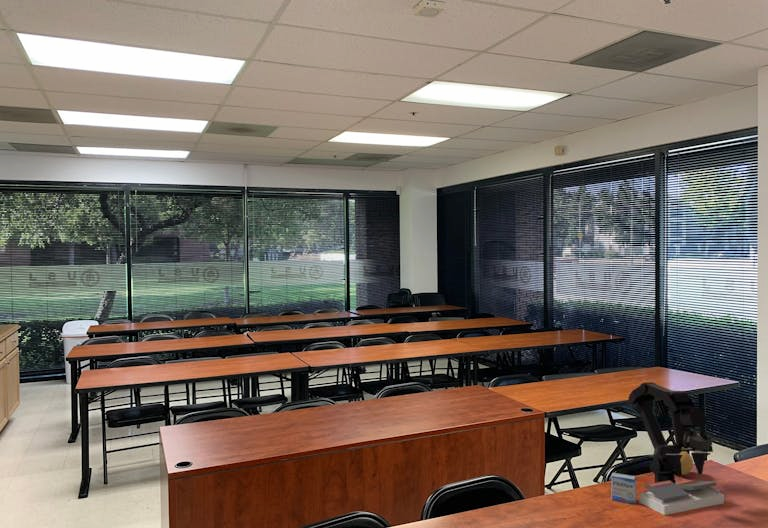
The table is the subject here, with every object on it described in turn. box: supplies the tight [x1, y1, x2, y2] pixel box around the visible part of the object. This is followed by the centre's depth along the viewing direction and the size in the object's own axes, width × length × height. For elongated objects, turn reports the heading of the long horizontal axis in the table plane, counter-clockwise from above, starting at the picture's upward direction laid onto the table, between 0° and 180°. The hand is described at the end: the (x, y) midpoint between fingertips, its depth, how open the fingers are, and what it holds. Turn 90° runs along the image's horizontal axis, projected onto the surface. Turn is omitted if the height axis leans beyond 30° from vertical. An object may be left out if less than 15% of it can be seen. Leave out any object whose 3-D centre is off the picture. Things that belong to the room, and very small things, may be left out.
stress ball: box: [679, 451, 694, 476], centre depth 222 cm, size 10×10×10 cm
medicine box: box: [610, 472, 637, 505], centre depth 197 cm, size 8×4×9 cm, turn 62°
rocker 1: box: [644, 480, 689, 502], centre depth 192 cm, size 8×11×2 cm
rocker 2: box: [675, 480, 718, 490], centre depth 197 cm, size 8×11×2 cm
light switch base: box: [638, 486, 725, 516], centre depth 195 cm, size 11×27×4 cm, turn 110°
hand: (690, 475), depth 191 cm, fingers open, 9 cm apart
